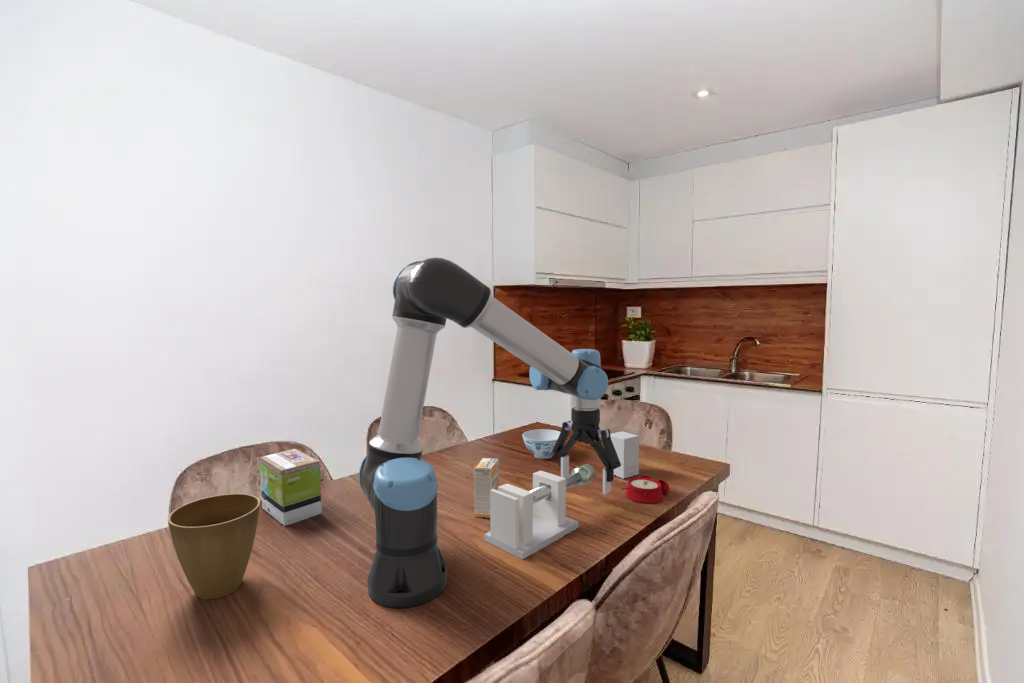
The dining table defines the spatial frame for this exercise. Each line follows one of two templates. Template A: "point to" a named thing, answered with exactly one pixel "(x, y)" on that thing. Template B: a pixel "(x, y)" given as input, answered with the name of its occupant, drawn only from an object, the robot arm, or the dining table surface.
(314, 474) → the tea box
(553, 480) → the housing
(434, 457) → the dining table surface
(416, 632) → the dining table surface
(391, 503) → the robot arm
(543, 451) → the chinaware
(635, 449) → the supplement box
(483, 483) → the supplement box
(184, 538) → the plant pot
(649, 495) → the alarm clock
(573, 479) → the shaft
